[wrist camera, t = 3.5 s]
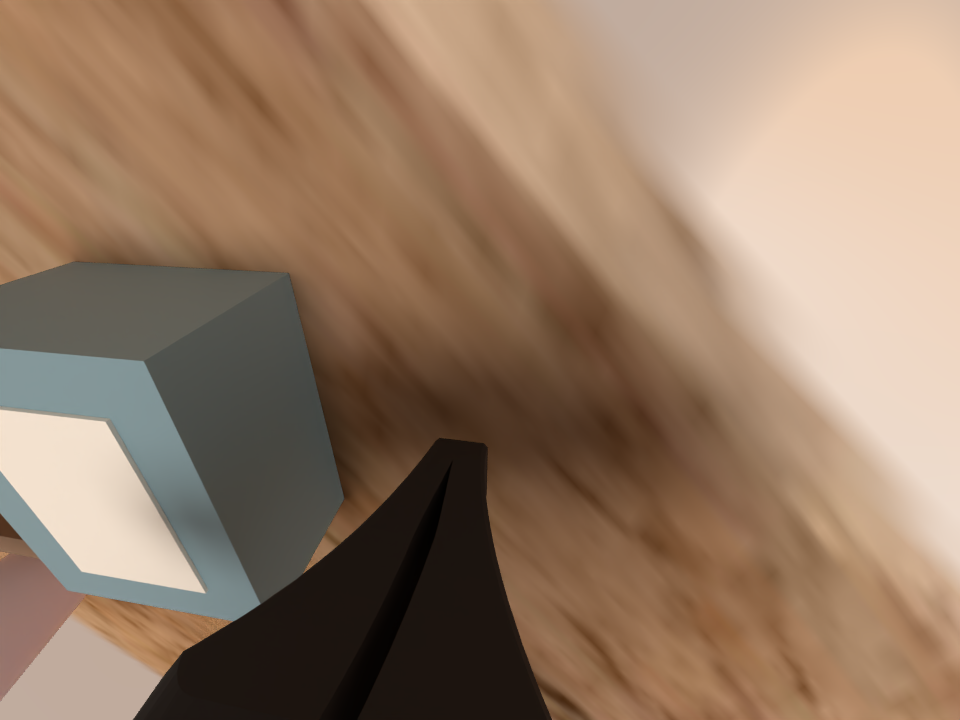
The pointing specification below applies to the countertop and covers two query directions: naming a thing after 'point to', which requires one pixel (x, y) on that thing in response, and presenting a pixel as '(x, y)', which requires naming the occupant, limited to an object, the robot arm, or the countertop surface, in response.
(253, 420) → the carton
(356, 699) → the robot arm
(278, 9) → the countertop surface
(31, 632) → the smoothie
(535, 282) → the countertop surface
